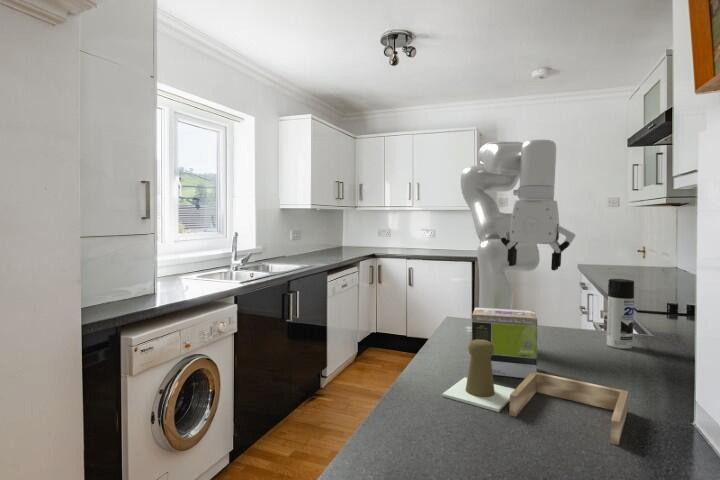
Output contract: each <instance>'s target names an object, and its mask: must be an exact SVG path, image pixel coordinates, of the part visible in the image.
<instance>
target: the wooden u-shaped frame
mask: <svg viewBox="0 0 720 480" xmlns="http://www.w3.org/2000/svg"><path fill="white" fill-rule="evenodd" d="M514 389H515V390H514V391H513V392H512V393H511V394H510V401H509V416H512V417H515V418H516V417H517V416H518V415H519V414H520V413H521V412H522V410H523V408H524V407H525V406H526V405H527V404H528V402H529V401H530V400H531V399H532V397H533V396H534V395H535V394H536V393H539V394H544V395H547V396H551V397H556V398H560V399H564V400H569V401H573V402H576V403H580V404H584V405H585V404H586V405H588V406H589V405H590V406H593V407H598V408H601V409H602V408H603V409H606V410H610V411H613V413H612V416H611V420H610V438H609V439H610V440H609V441H610V442H609V443H610V444H612V445H616V446H619V445H620V440H621V437H622V433H623V429H624V427H625V421H626V418H627V413H628V405H629V404H628V403H629V391H628V390H624V389H619V388H618V389H617V388H614V387H610V386H604V385H599V384H594V383H590V382H586V381H580V380H576V379H571V378H567V377H561V376H556V375H552V374H547V373H543V372H540V371H539V372H538V371H537V372H534V371H532V372H531V373H530V374H529V375H528V376H527V377H526V378H523V380H522V381H521V383H519V384H518V386H517V387H516V388H514Z"/></svg>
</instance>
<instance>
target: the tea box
mask: <svg viewBox="0 0 720 480" xmlns="http://www.w3.org/2000/svg"><path fill="white" fill-rule="evenodd" d="M473 309H474V310H473V312H472V314H471V327H472V334H471V341H473V340H477V339H480V340H486V341H489V342H491V343H492V345H493V347H494V352H493V355H492V356H491V364H492V373H493V376H502V377H511V378H520V379H525V378H526V377H527V376H528V375H529V374H530V373H531V372H532V371H534V372H538V371H537V370H538V369H537V367H538V318H537V316H536V311H535V310H525V309H524V310H523V309H512V310H511V309H495V308H479V306H478V307H474V308H473Z"/></svg>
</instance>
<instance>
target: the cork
mask: <svg viewBox="0 0 720 480" xmlns="http://www.w3.org/2000/svg"><path fill="white" fill-rule="evenodd" d="M467 347H468V348H467V350H468V353H469V355H470V360H469V366H468V373H467V384H466V392H467V393H468V394H470V395H473V396H477V397H491V396H493V395H494V394H495V392H494V384H495V383H494V375H493V373H492V364H491V356H492V355H493V352H494V347H493V345H492V343H491V342H489V341H486V340H480V339H477V340H473V341H472V340H470V342H469V344H468V346H467Z"/></svg>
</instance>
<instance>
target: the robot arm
mask: <svg viewBox="0 0 720 480" xmlns="http://www.w3.org/2000/svg"><path fill="white" fill-rule="evenodd" d="M478 150H479V151H478V153H477V157H478V159H477V160H478V161H479V163H480V164H479V165H472V166H468V167H467V168H464V170H462V172H461V175H460V190H461V194H462V197H463V199H464V201H465V204H467V206H468V208H469V210H470V212H471V217H472V220H473V223H474V224H473V225H474V229H475V232H476V235H477V238H478V239H479V240H480V241H481V242H480V243H479V244H478V247H477V249H476V257H477V264H478V274H479V277H478V278H479V280H478V281H479V283H478V284H479V289H478V290H479V293H478V294H479V296H478V308H495V309H511V310H513V304H514V303H513V300H514V299H513V298H514V295H513V294H514V287H513V284H512V282H511V280H510V279H509V278H508V277H507V275H506V274H505V273H506V272H507V273H509V272H512V273H513V272H521V273H522V272H523V273H524V272H525V273H526V272H532V271H534V270H536V269H537V268H538V266H539V264H540V258H541V257H540V256H541V255H540V250H539V247H538V245H549V246H550V247H551V249H552V250H553V252H552V253H551V264H550V265H551V270H552V271H558V269H559V268H560V267H561V264H562V253H563V252H564V251H565V250H566V249H568V247H570V246H571V244H572V243H573V241H574V239H575V238H576V234H575V233H574V232H572V231H570V230H569V229H568V228H565V227H563V226H561V225H560V215H559V206H558V200H555V184H556V183H555V182H556V161H557V144H556V142H555V141H554V140H550V139H532V140H531V139H530V140H528V141H524V142H522V141H505V140H503V141H500V140H499V141H498V140H497V141H495V140H494V141H489V142H487V143H485V144H483V145H482V146H481V147H480V149H478ZM518 182H519V187H518V188H516V189H514V188H515V187H516V185H517V183H518ZM511 190H513V192H512V193H513V196H516V197H518V200H514V204H513V207H512V213H511V212H510V213H509V212H506V213H505V212H501V211H500V209H499V206H498V203H497V201H495V199H494V198H493V197H492V196H491V195H490V194H488V193H487V192H509V191H511ZM560 234H561V235H563V236H565V240H564V241H563V242H562V243H559V238H560ZM465 333H466V335H472V326H466V327H465Z"/></svg>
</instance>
